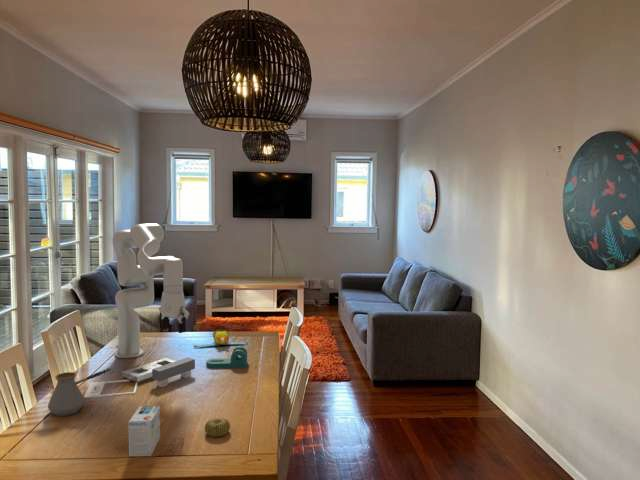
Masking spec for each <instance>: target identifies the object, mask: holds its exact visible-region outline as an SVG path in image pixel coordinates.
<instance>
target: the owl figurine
mask: <svg viewBox="0 0 640 480" xmlns="http://www.w3.org/2000/svg"><path fill="white" fill-rule="evenodd" d="M212 337H213V341H214V343H208V344H207V343H205V344H193V349H194V350H195V349H199V348H207V347H213V346H214V347H215V346H228V345H229V346H230V345H233V346H234V345H244V346H245V345H246V346H247V345H250V343H249V341H247V340H246V341H237V342H236V341H234V342H233V341H230V342H229V340H230V333H229V332H228V331H227V330H226V329H225V328H224V329H223V328H219V329H217V330H215V331H213V332H212Z"/></svg>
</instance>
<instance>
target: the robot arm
mask: <svg viewBox="0 0 640 480" xmlns="http://www.w3.org/2000/svg"><path fill="white" fill-rule="evenodd" d="M164 238H165V231H164V228H163V227H162V226H161V224H158V223H137V224H135V225H133V226H132V227H130V229H121V230H117V231H116V232H115V233H113V235H112V246H113V250H114V253H115V256H116V265H117V266H116V269H117V272H116V273H117V282H118V284H119V285H120V286H122V287H130V286H133V288H124V289H121V290H118V291H117V292H116V294H115V296H114V297H115V298H114V301H115V305H116V306H115V307H116V311H117V312H116V313H117V335H118V336H117V337H118V343H117V344H115V348H116V349H117V351H116V352H115V353H114V355H115V357H116V358H118V359H133V358H138V357H140V356H142V355H143V354H144V350H143V349H142V348H141V331H140V329H141V328H140V324H141V323H140V321H141V320H140V316H139V314H138V313H137V312H136V311H135V309H138V308H139V309H140V308H146V307H150V306H152V305H153V303H154V301H155V286H154V285H155V284H154V276H162V275H163V280H162V281H163V291H162V294H161V299H160V301H161V302H160V306H159V307H158V311H159V315H160V318H161V321H162V330H167V329H170V327H171V325H170V324H171V323H170V320H171V319H177V320H178V322H179V323H178V328H177V329H178V330H177V332H178V333H179V334H182V333H185V332H187V331H186V330H187V329H186V328H187V327H186V325H187V324H186V323H187V321H188V319H189V316H190V312H189V311H188V310H187V309H186V301H185V300H186V299H185V294H184V277H183V275H184V274H183V273H184V272H183V271H184V270H183V265H184V264H183V260H182V259H181V258H179V257H178V258H177V257H175V256H173V255H166V256H163V255H162V256H154V255H156V253H158V252H159V250H160V248H161V242H162V241H163V240H164ZM132 248H133V249H134V248H138V249H139V250H138V252H137V256H136V253H135V252H134V251H133V249H132ZM139 285H141V287H134V286H139Z"/></svg>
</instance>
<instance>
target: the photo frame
mask: <svg viewBox="0 0 640 480" xmlns="http://www.w3.org/2000/svg"><path fill="white" fill-rule="evenodd" d="M124 382H125V383H126V382H130V381H129V380H124V379H122V380H121V379H120V380H108V381H96V382H90V384H89V386H88V387H87V390H86V391H85V394H84V396H83V397H84V399H91V398H102V397H113V396H122V395H123V396H124V395H136V392H137V389H138V385H139V384H138V383H134V384H135V385H134V388H133V391H129V392H120V393H119V392H117V393H108V394H107V393H106V394H102V392H103V389H104V388H105V385H106V384H112V383H114V384H115V383H124Z"/></svg>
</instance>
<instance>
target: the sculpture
mask: <svg viewBox="0 0 640 480" xmlns="http://www.w3.org/2000/svg"><path fill="white" fill-rule="evenodd" d="M230 429H231V424H230V422H229V420H228V419H226V418H224V417H214V418H211V419H209V420H208V421H207V422H206V423H205V424H204V432H205V434H206V435H208V436H210V437H213V438H216V437H222V436H225V435H226V434H228V433H229V431H230Z"/></svg>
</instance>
